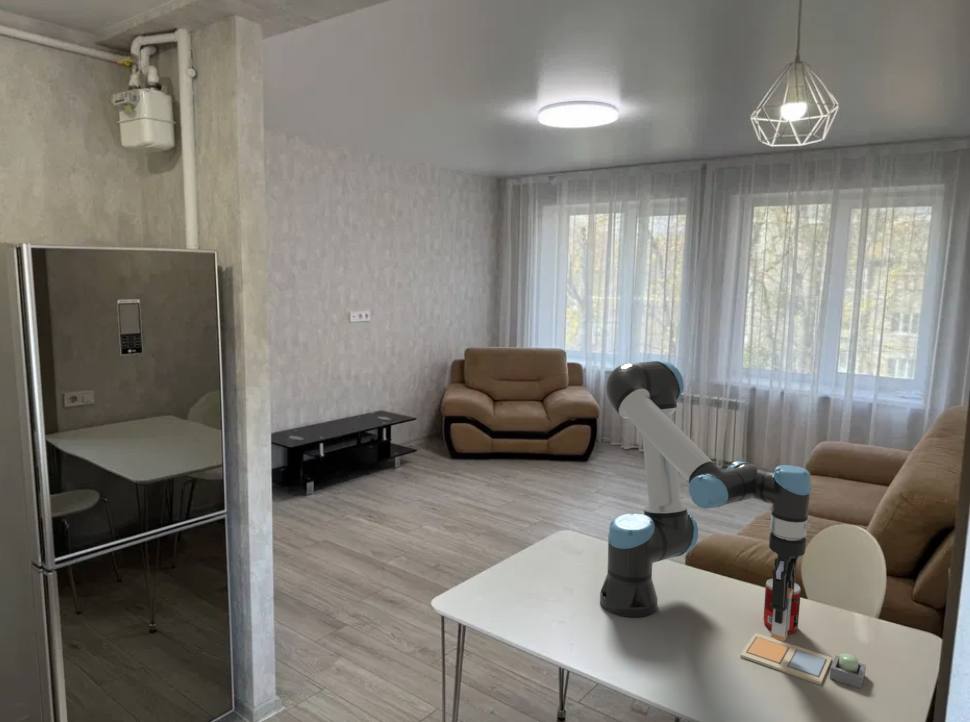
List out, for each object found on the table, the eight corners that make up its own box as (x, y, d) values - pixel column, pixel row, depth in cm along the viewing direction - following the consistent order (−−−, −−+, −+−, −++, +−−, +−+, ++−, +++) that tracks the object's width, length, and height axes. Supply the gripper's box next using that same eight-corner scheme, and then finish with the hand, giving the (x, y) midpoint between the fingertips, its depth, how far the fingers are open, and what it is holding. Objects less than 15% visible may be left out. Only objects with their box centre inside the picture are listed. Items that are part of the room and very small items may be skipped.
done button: (837, 670, 145) (838, 658, 145) (840, 662, 148) (841, 651, 147) (855, 676, 143) (856, 664, 142) (858, 668, 146) (859, 657, 145)
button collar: (829, 678, 145) (830, 667, 145) (834, 665, 150) (835, 655, 149) (860, 688, 141) (861, 677, 141) (864, 675, 146) (865, 664, 146)
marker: (770, 636, 152) (775, 589, 151) (773, 631, 155) (778, 584, 153) (784, 641, 151) (789, 594, 149) (787, 636, 153) (792, 589, 151)
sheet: (740, 656, 153) (740, 654, 153) (755, 635, 162) (755, 632, 162) (820, 685, 142) (821, 681, 142) (831, 659, 152) (831, 657, 152)
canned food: (801, 636, 162) (804, 593, 160) (766, 632, 164) (769, 590, 162) (793, 620, 169) (796, 579, 168) (760, 616, 171) (763, 576, 170)
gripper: (797, 550, 141) (789, 652, 144) (813, 527, 153) (805, 622, 157) (760, 541, 145) (753, 640, 148) (779, 520, 158) (772, 612, 161)
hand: (780, 630), depth 152 cm, fingers closed on marker, 3 cm apart
